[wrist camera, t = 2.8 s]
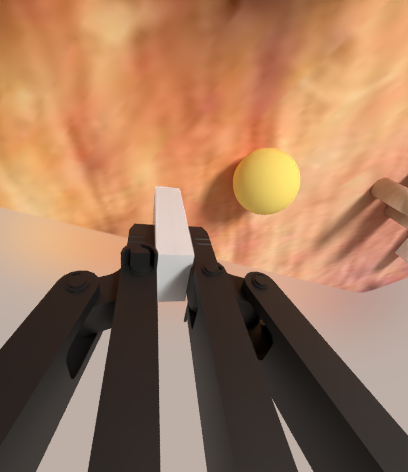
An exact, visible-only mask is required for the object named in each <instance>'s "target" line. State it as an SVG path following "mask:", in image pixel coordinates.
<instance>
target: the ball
mask: <svg viewBox="0 0 408 472" xmlns="http://www.w3.org/2000/svg"><path fill="white" fill-rule="evenodd" d="M299 186H300V172H299V169H298V166H297V164H296V162H295V161H294V160H293V158H292V157H291V156H289V155H288V154H287V153H285V152H284V151H281V150H279V149H275V148H262V149H258V150H255V151H253V152H251V153H250V154H248V155H247V156H246V157H244V158H243V159H242V160H241V162H240V163H239V164H238V166H237V168H236V170H235V173H234V177H233V190H234V194H235V196H236V198H237V200H238V202H239V203H240V204H241V205H242V206H243V207H244V208H245V209H247V210H248V211H250V212H253V213H255V214H261V215H268V214H274V213H277V212H279V211H281V210H283V209H284V208H286V207H287V206H288V205H289V204H290V203H291V202H292V201H293V200H294V198H295V197H296V195H297V193H298V190H299Z"/></svg>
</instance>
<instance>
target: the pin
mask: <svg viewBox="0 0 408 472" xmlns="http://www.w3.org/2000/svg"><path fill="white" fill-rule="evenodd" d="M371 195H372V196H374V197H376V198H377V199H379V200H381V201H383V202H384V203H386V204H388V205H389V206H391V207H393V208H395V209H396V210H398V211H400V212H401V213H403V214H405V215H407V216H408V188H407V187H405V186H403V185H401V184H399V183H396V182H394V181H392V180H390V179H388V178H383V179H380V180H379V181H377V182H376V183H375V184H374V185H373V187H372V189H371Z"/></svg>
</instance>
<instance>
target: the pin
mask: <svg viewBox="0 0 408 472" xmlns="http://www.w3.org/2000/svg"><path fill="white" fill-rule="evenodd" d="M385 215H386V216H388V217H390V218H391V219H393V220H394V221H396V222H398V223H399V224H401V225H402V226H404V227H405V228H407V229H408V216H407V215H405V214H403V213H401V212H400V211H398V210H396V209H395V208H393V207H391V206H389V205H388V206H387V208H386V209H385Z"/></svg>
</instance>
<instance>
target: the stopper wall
mask: <svg viewBox="0 0 408 472" xmlns="http://www.w3.org/2000/svg"><path fill="white" fill-rule="evenodd" d="M395 253H396V254H397V255H398V256H400V257H401V258H402V259H404V260H405V261H406V262H407V263H408V238H407V239H406V240H405V241H404V242H403V243H402V245H401V246H400V247H399V248H398V249H397V250H396V252H395Z"/></svg>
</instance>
